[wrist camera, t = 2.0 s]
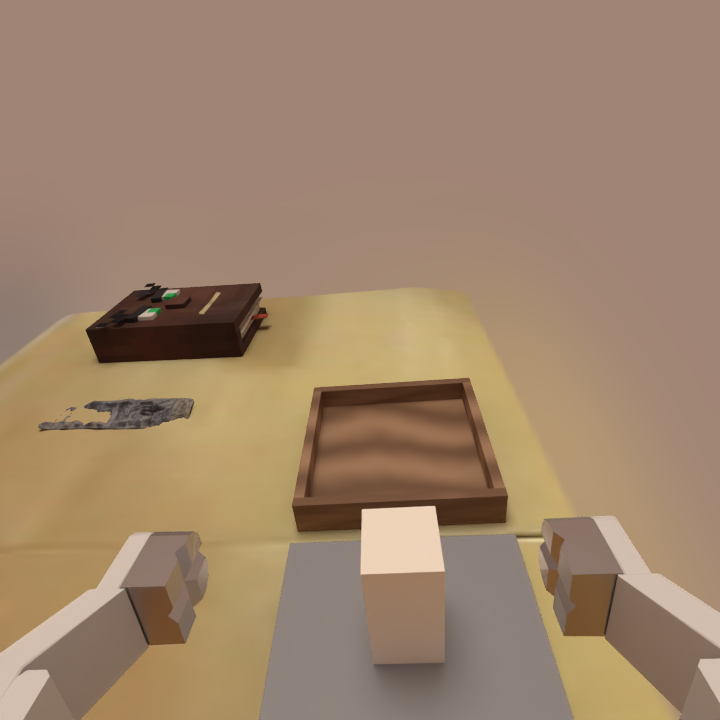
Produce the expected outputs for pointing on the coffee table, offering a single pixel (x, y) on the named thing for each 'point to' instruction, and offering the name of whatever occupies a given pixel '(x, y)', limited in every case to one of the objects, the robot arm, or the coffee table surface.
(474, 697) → the board
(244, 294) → the decorative book
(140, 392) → the coffee table surface
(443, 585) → the tall cream pillar block
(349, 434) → the box
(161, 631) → the robot arm
